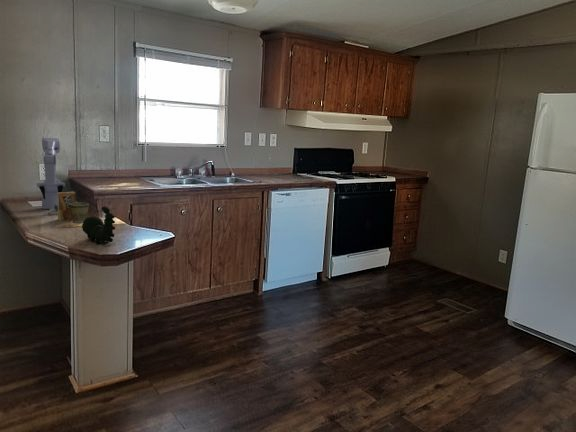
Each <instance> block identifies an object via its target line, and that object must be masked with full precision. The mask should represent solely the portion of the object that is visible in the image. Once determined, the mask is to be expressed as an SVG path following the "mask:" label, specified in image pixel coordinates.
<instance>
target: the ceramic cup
mask: <svg viewBox="0 0 576 432" xmlns="http://www.w3.org/2000/svg"><path fill="white" fill-rule="evenodd" d="M69 208H70V211H71V215H72V222H73V223H75V224H83V221H84V220H85V218H87V217H88V213H89V208H90V203H88V202H80V201H78V202H76V203H70V204H69Z"/></svg>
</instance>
